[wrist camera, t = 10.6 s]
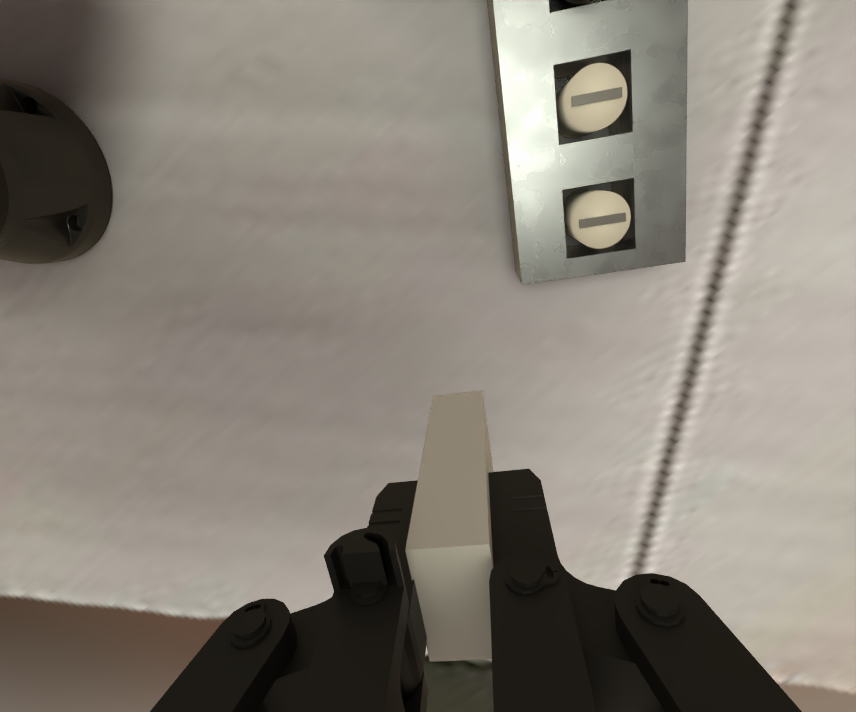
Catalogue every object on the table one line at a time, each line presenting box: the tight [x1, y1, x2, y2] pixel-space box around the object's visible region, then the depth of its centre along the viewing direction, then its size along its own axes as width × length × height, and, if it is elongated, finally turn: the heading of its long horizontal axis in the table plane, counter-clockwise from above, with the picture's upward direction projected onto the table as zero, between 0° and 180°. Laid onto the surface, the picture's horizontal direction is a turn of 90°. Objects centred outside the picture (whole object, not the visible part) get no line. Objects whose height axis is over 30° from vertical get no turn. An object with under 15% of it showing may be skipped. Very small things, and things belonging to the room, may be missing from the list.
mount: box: [487, 0, 688, 285], centre depth 36 cm, size 12×24×6 cm, turn 9°
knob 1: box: [555, 63, 627, 138], centre depth 35 cm, size 4×4×7 cm
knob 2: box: [563, 189, 631, 249], centre depth 38 cm, size 4×4×7 cm
